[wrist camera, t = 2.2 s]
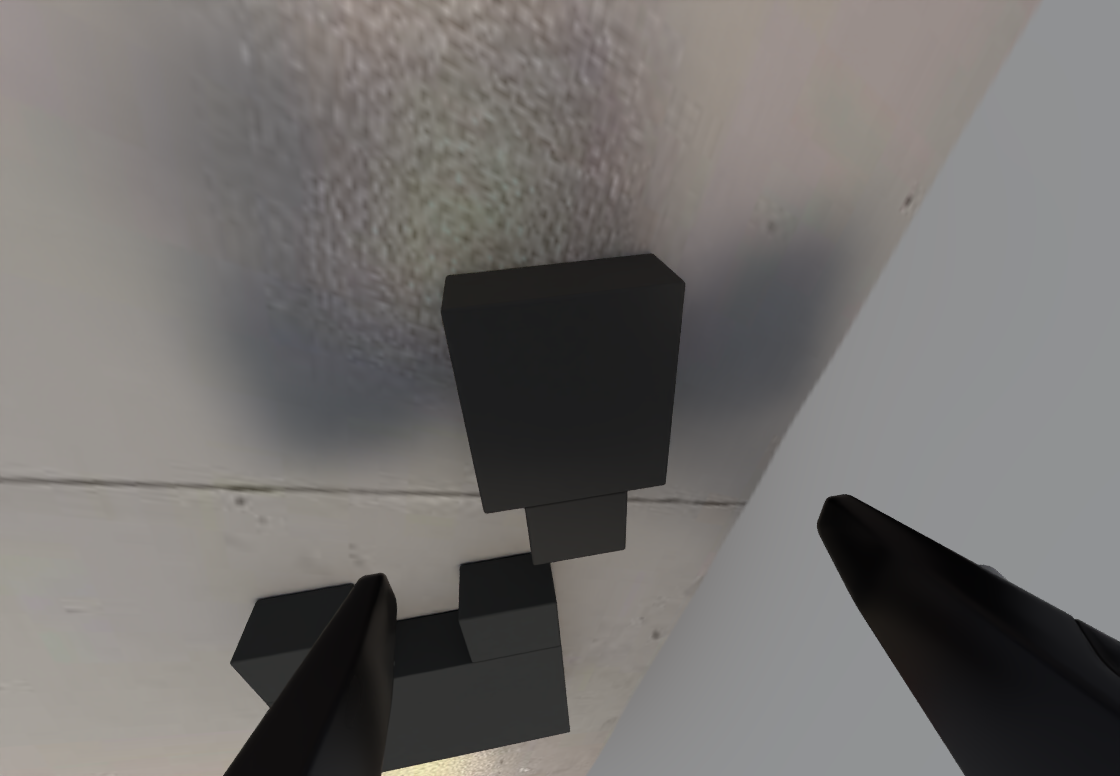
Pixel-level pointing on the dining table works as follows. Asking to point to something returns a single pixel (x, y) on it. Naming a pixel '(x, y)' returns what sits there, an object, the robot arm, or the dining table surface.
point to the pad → (567, 391)
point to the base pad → (440, 662)
